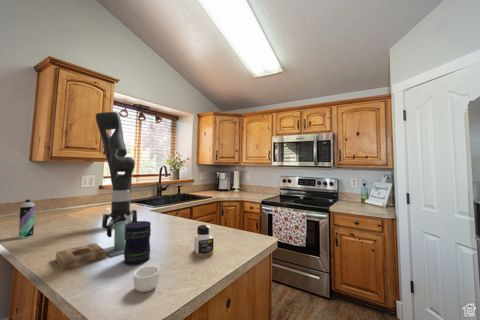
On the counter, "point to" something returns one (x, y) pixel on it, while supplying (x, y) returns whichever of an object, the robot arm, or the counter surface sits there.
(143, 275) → the teacup
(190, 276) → the counter surface
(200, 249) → the medicine bottle
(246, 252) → the counter surface
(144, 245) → the storage jar
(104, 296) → the counter surface
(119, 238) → the peg
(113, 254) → the mat
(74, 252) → the pocket block
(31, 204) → the spray can
